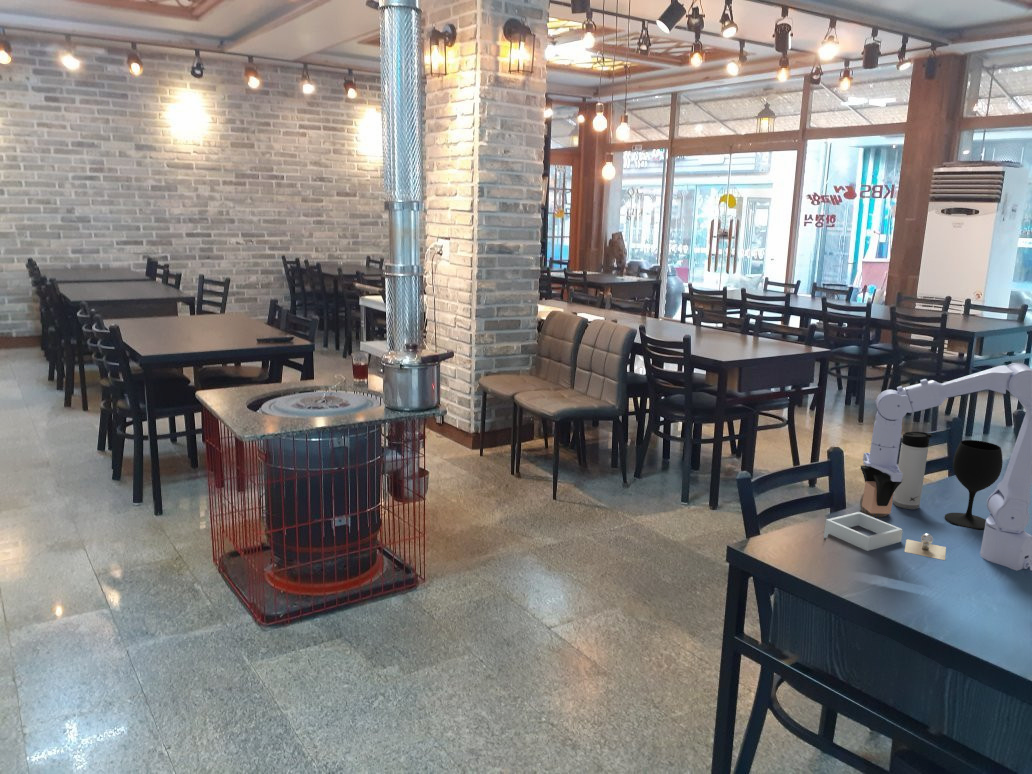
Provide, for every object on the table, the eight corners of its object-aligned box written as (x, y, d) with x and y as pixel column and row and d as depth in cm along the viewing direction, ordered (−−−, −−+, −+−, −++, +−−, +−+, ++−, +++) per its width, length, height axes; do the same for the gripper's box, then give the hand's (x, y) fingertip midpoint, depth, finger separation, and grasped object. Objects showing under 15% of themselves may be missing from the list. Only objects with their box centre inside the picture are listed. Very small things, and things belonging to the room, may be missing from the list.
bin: (900, 547, 182) (902, 529, 181) (866, 557, 176) (869, 538, 175) (856, 529, 192) (859, 511, 191) (823, 537, 186) (826, 519, 185)
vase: (856, 519, 198) (861, 486, 196) (859, 510, 204) (863, 478, 202) (887, 525, 195) (892, 491, 193) (889, 516, 201) (893, 483, 199)
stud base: (944, 553, 179) (948, 531, 178) (944, 566, 173) (947, 544, 171) (905, 545, 183) (908, 524, 182) (903, 557, 176) (906, 536, 175)
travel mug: (917, 511, 204) (929, 437, 200) (890, 505, 208) (901, 432, 204) (922, 505, 209) (934, 432, 205) (895, 499, 213) (906, 427, 208)
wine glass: (949, 510, 206) (961, 436, 201) (995, 521, 199) (1008, 445, 195) (939, 522, 198) (952, 445, 193) (987, 533, 192) (1001, 454, 187)
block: (881, 506, 183) (884, 481, 182) (890, 513, 179) (894, 488, 178) (861, 505, 183) (865, 481, 182) (870, 513, 179) (874, 487, 177)
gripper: (853, 434, 184) (845, 489, 188) (882, 453, 170) (874, 512, 173) (883, 435, 185) (875, 490, 188) (915, 454, 171) (906, 513, 174)
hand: (876, 501), depth 181 cm, fingers closed on block, 4 cm apart
